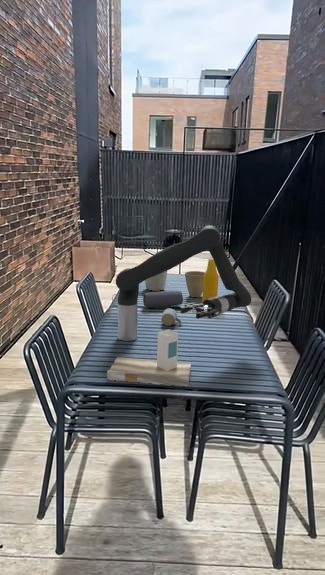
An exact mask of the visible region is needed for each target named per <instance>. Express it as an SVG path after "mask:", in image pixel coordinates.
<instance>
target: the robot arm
mask: <svg viewBox="0 0 325 575" xmlns="http://www.w3.org/2000/svg"><path fill="white" fill-rule="evenodd" d="M206 251H208V252H209V253H210V255H211V257H212V258H211V259H213V260H214V262H215V265H216V270H217V273H218V277H219V278H220V280H221V282H222V284H223V286H224V288H225V289H226V290H227V291H233V292H232V293H231V292H230V293H228V294H224V295H221V296H218V295H217V297H213V298H209V299H206V300H204V302H203V303H197V302H195V301H194V302H190V303H189V302H188V303H185V304H184V307H181V308H180V310H179V311H180V314H182V315H183V314H187V313H193V314H195V319H197V320H199V319H201V318H208V319H213V318H216V317H218V316H219V315H221V314H224V313H226V312H229V311H232V310H234V309H238V308H239V309H240V308H244V307H249V306H250V305H251V303H252V295H251V293H250V291H249V289H247V287H246V286H245V285H244V284H243V283H242V282H241V281H240V279H239V277H238V275H237V273H236V270H235V268H234V267H233V264H232V263H231V261H230V259H229V257H228V255H227V253H226V251H225V248H224V245H223V241H222V238H221V233H220V230H219V229H218V227H216V226H214V225H206V226H204V227H202V228H201V230H200V231H199V232H198V233H197V234H195V235H194V236H192V237H190V238H189V239H187V240H185V241H184V240H183V241H182V242H179V243H174V244H173V245H169V246H167V247H165V248H163V249H161V250H160V251H158V252H155V253H154V254H153V255H151V256H150V257H148V258H147V259H146V260H144V261H143V262H141V263H139V264H138V265H136V266H134V267H132V268H130V267H129V268H127V267H126V268H124V269H123V270H121V271H120V272H119V273H118V274H117V276H116V278H115V285H116V287H117V288H118V289H119V291H118V294H119V295H118V297H117V308H118V309H117V339H118V340H119V341H123V342H124V341H125V342H130V341H131V342H132V341H135V340H137V339H138V318H137V316H138V299H139V294H140V292H139V291H140V284H142V283H143V282H145V280H146V279H148V278H151V277H153V276H156V275H158V274H161V273H163V272H165V271H167V272H168V271H170V270H171V269H174V268H175V267H177V266H179V265H180V264H182V263H184V262H186V261H187V260H189V259H191V258H193V257H194V256H196V255H198V254H201V253H205V252H206Z"/></svg>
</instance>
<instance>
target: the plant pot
mask: <svg viewBox="0 0 325 575" xmlns="http://www.w3.org/2000/svg"><path fill="white" fill-rule="evenodd" d="M205 272H206V271H199V270H193V271H192V270H191V271H186V272H184V278H185V282H186V288H187V291H188V295H189V297H190V296H191V297H190V298H193V297H199V298H201V297H202V296H203V280H204V274H205Z"/></svg>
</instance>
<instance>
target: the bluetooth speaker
mask: <svg viewBox="0 0 325 575" xmlns="http://www.w3.org/2000/svg"><path fill="white" fill-rule="evenodd" d="M142 297H143V298H142V302H143V306H144V307H145V308H154V309H155V308H160V309H168V308H167V307H171V308H172V307H175V306H181V305H183V303H184V298H183V292H182V291H181V290H168V291H167V290H166V291H164V290H162V291H150V292H145V293H143V296H142Z"/></svg>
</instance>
